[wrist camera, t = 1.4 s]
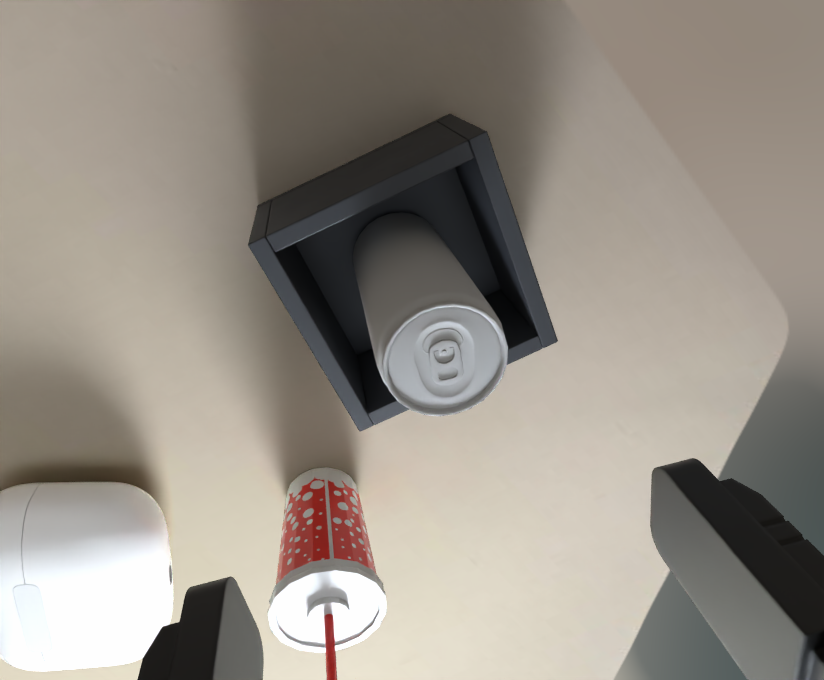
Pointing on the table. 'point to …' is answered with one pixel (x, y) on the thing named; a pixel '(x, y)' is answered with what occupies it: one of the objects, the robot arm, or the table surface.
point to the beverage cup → (325, 569)
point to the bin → (375, 197)
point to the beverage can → (426, 318)
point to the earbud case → (81, 575)
